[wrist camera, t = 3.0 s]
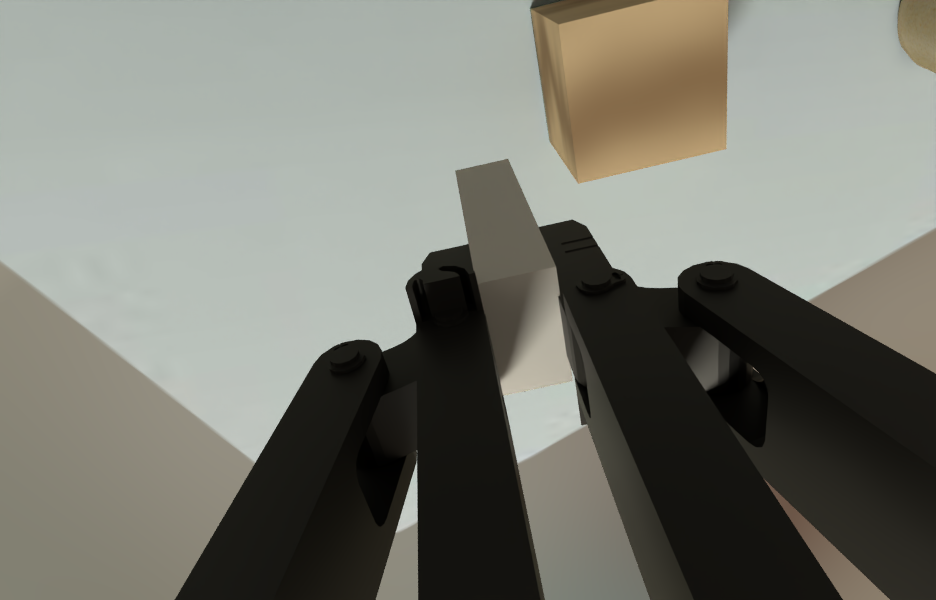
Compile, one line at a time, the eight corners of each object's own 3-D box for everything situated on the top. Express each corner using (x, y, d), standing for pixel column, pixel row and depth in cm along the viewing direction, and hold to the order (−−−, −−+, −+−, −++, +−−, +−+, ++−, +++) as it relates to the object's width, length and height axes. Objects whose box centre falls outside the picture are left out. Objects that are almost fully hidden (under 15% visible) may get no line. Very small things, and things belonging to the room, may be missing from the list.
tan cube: (530, 8, 26) (558, 24, 21) (665, -26, 26) (728, -18, 21) (549, 141, 29) (578, 183, 24) (670, 112, 29) (726, 148, 24)
